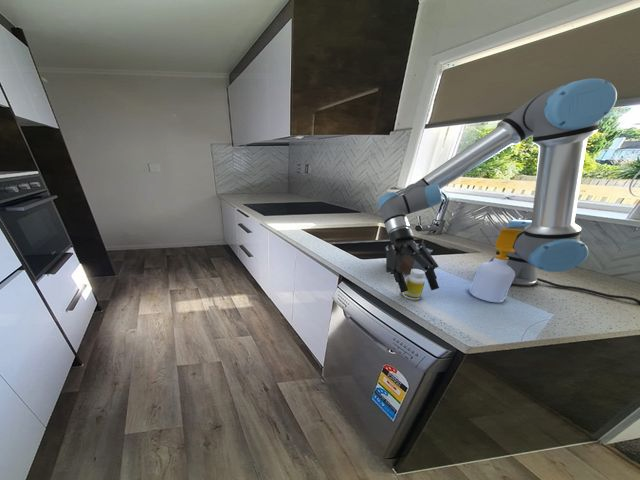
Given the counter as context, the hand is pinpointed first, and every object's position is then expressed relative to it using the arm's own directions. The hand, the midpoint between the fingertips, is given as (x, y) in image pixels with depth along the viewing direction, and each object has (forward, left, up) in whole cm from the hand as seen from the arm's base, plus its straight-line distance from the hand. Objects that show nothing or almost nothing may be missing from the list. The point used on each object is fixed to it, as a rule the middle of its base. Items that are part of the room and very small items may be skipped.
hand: (420, 290), depth 81 cm
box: (+18, -21, -4) cm, 28 cm away
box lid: (+18, -21, +5) cm, 28 cm away
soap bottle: (-9, -24, -4) cm, 26 cm away
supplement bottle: (+3, -1, -4) cm, 5 cm away
